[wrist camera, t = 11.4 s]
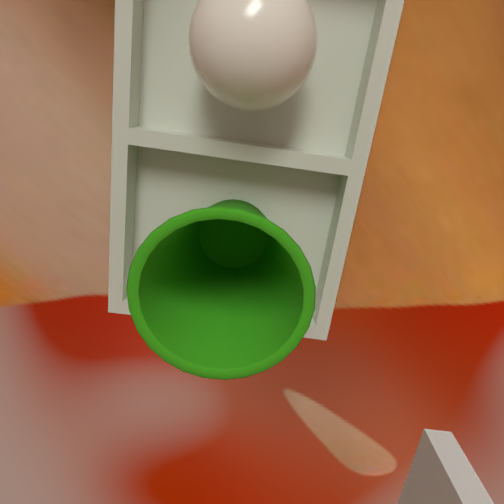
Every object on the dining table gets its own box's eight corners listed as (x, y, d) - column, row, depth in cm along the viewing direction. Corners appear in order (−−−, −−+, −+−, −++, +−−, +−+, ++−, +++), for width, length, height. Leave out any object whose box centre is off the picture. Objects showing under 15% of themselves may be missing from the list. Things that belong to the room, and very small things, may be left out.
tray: (121, 294, 32) (108, 312, 30) (134, -89, 24) (117, -115, 21) (320, 320, 33) (326, 340, 30) (401, -46, 25) (419, -66, 22)
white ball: (193, 102, 27) (171, 100, 20) (203, -22, 24) (183, -69, 18) (299, 117, 27) (311, 121, 20) (319, -4, 25) (341, -44, 18)
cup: (297, 169, 28) (319, 206, 18) (295, 289, 31) (313, 381, 21) (166, 171, 28) (113, 208, 18) (177, 291, 31) (136, 381, 21)
